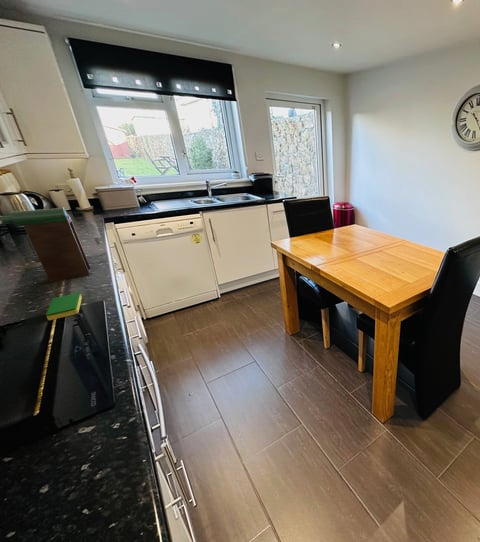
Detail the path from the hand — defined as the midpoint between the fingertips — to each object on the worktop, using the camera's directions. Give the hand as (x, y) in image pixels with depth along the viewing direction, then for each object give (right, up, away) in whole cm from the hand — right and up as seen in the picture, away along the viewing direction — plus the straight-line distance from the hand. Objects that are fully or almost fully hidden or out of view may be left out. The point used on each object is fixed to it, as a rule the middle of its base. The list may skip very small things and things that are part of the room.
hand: (2, 218), depth 95 cm
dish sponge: (+20, -31, +2) cm, 37 cm away
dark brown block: (-3, -20, +26) cm, 33 cm away
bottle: (+4, +1, +3) cm, 6 cm away
